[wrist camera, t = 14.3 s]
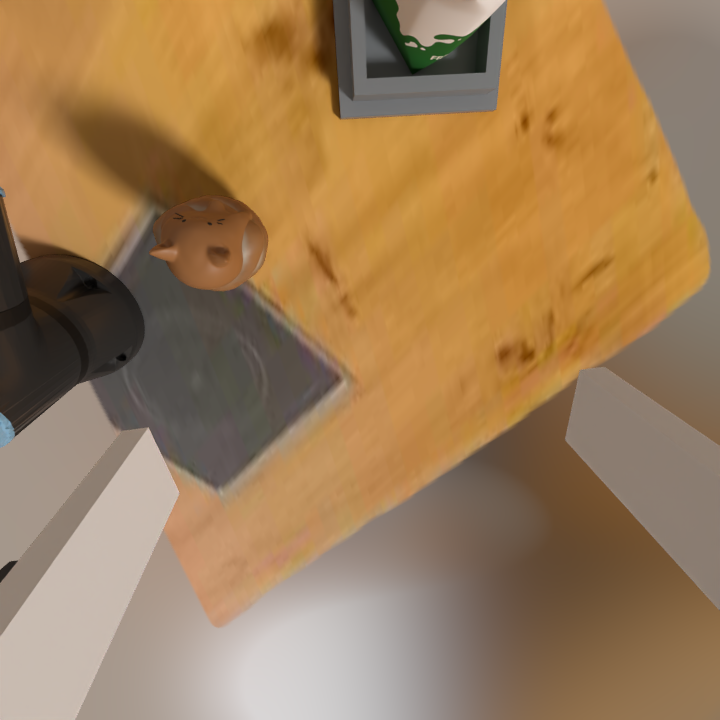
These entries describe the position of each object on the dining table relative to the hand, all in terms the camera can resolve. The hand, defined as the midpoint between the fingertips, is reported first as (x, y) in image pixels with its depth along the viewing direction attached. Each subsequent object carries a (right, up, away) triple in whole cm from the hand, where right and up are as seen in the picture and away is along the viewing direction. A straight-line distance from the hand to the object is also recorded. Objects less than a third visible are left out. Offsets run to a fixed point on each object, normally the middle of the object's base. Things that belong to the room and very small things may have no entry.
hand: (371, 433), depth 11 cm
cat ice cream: (-14, +18, +30) cm, 37 cm away
